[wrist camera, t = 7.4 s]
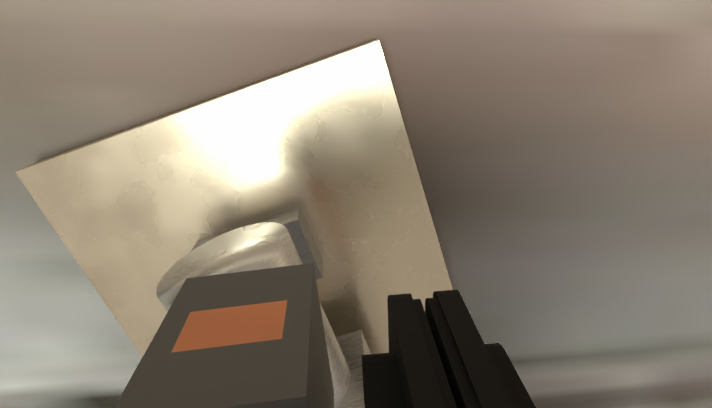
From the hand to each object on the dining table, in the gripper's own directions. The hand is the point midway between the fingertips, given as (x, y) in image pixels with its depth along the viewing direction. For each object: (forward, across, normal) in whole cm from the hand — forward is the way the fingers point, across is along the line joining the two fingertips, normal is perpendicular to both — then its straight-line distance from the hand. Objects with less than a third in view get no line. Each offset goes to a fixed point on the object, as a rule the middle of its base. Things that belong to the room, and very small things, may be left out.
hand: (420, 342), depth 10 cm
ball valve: (+11, +3, +10) cm, 16 cm away
